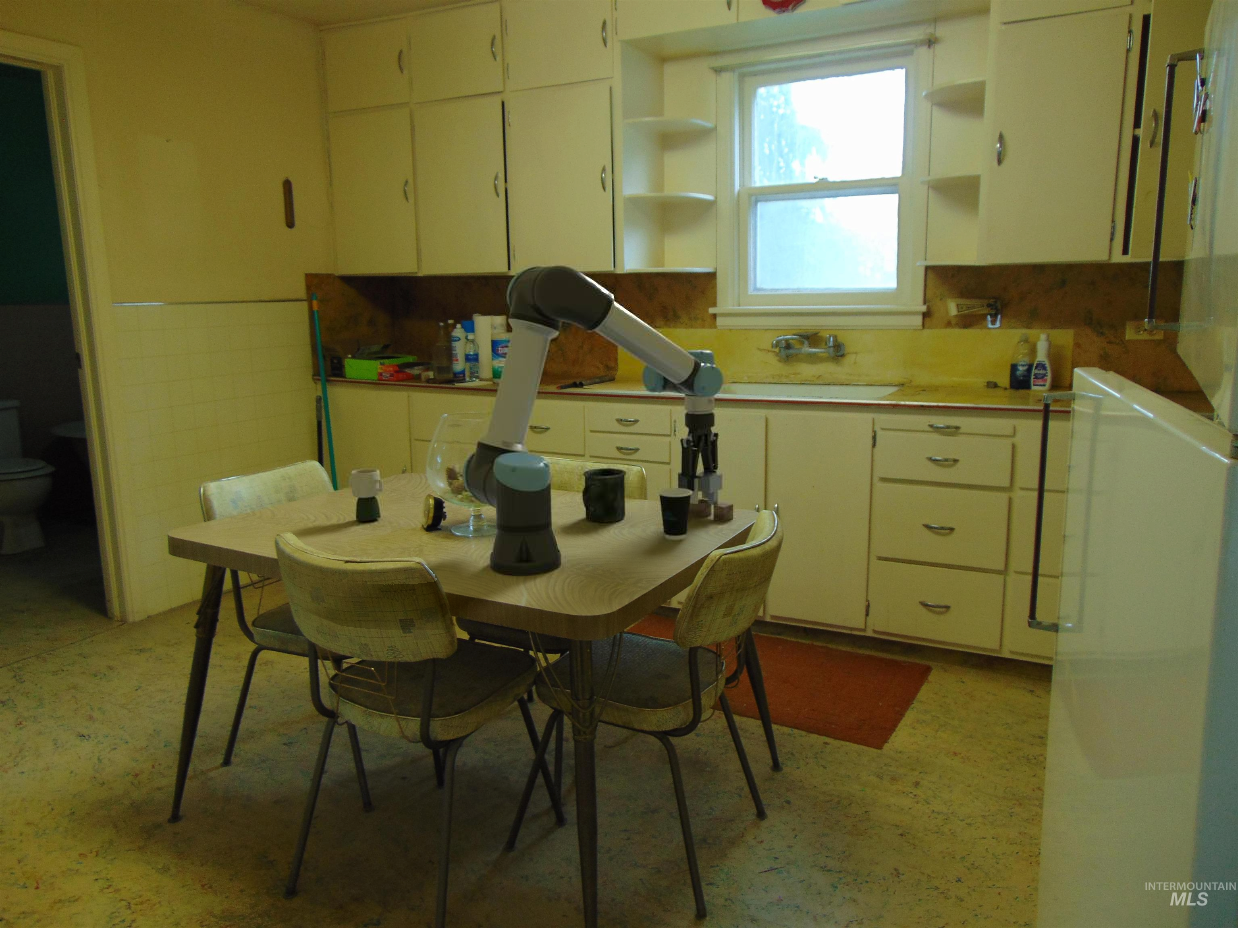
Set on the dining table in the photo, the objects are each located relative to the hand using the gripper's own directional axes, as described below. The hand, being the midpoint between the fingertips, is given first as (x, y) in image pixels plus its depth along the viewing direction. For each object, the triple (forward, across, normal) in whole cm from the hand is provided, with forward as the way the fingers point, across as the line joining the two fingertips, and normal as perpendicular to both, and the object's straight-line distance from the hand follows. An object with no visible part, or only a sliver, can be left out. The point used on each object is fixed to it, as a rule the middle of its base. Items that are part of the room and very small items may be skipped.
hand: (700, 500), depth 231 cm
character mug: (+4, -56, +65) cm, 86 cm away
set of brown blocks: (+4, 0, 0) cm, 4 cm away
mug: (+4, -19, +17) cm, 26 cm away
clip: (0, 0, 0) cm, 0 cm away
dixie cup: (+4, -21, -8) cm, 23 cm away
